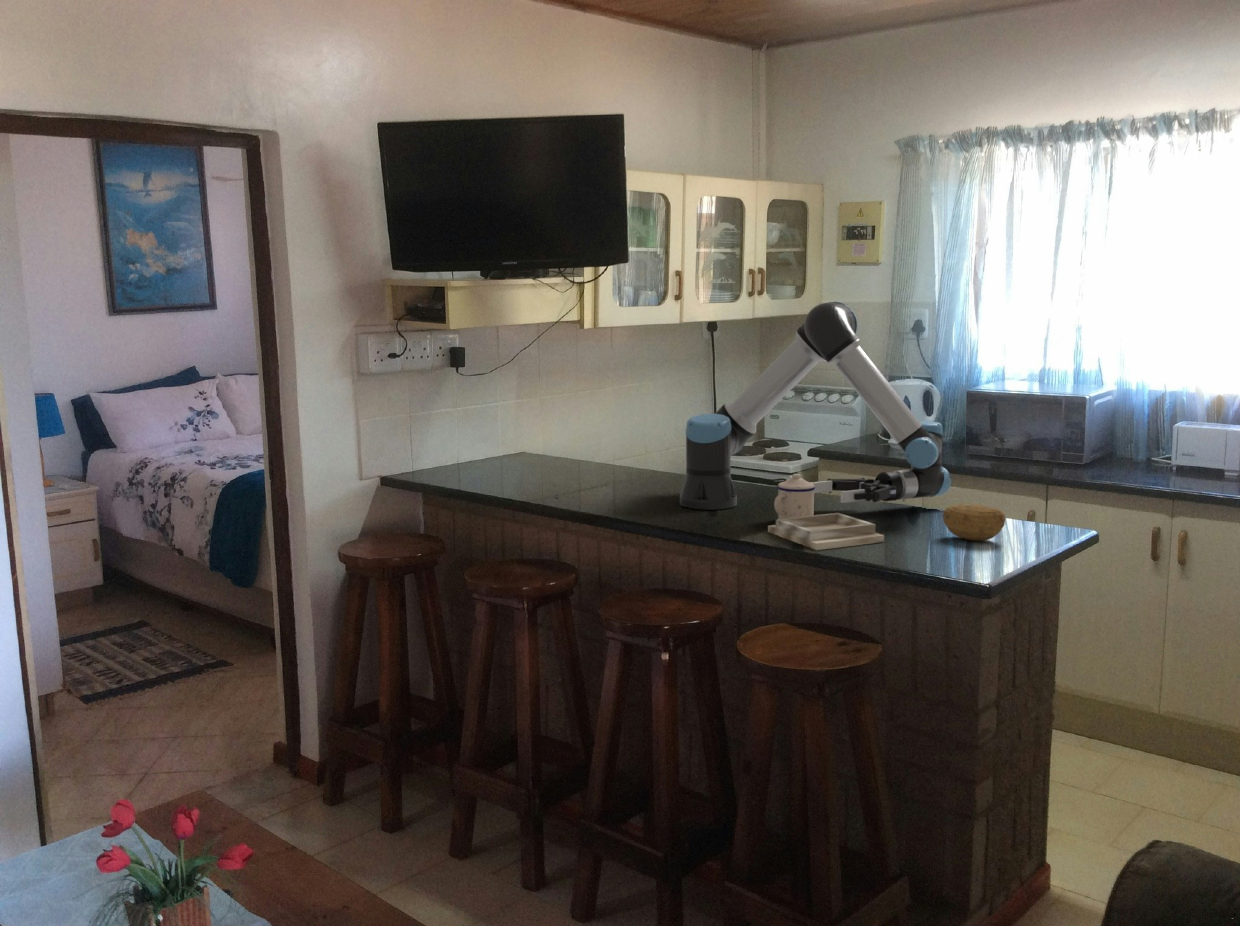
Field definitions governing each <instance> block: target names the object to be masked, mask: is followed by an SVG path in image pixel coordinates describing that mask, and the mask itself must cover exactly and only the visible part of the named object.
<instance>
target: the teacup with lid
mask: <svg viewBox="0 0 1240 926" xmlns="http://www.w3.org/2000/svg"><path fill="white" fill-rule="evenodd" d="M791 476H792V477H790V478H787V480H784V481H782V482H779V483H778V485H777V489H778V493H777V496H776V497H775V499H774V502H773V503H774V504H773V505H774V506H773V507H774V511H775V512H776V514H777V519H785V518H794V517H804V516H813V515H814V513H815V512H814V510H815V508H814V504H815V503H814V502H815V493H814V489H815V486H814V484H812V483H811V481H810V482H809V481H807V480H806V479H805V478H802V477H801V476H802V475H801V474H800V473H793V474H792V475H791Z"/></svg>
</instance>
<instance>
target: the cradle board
mask: <svg viewBox="0 0 1240 926" xmlns="http://www.w3.org/2000/svg"><path fill="white" fill-rule="evenodd" d="M876 526H877V525H876V523H872V522H869V521H866V520H863V519H859V518H856V517H854V516H850V515H847V514H843V513H840V512H834V513H825V514H824V513H823V514H816V515H813V516H804V517H794V518H785V519H778V518H777V519H775V524H772V525H767V533H769V532H770V534H772V533H773V535H775V536H777V535H778V537H779V538H780V537H781V538H783V539H785V538H786V540H788V541H791V542H794V543H795V544H799V545H801V544H802V546H804V547H807V548H809V547H810V548H809V549H812V550H815V551H821V550H828V549H829V550H831V549H837V548H838V549H839V548H845V547H846V548H847V547H853V546H861V545H862V546H863V545H869V544H870V545H871V544H877V543H884V542H885V535H884V534H881V533H878V532H876Z"/></svg>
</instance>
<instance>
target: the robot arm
mask: <svg viewBox="0 0 1240 926" xmlns="http://www.w3.org/2000/svg"><path fill="white" fill-rule="evenodd" d="M857 330H858V320H857V315H856V314H855V312H854V311H853V310H852V308H851V307H849V306H847V304H844V303H843V302H840V301H830V302H823V303H820V304H817V305H815V306H814V307H812V308H811V310H810V311H809V312H808V313H807V315H806V316H805V320H804V322H803V323H802V324H801V325H800V326H799V327H798V328H797V329H796V330H795V340H793V341H792V342H791V344H790V345H788V346H787V348H785V350H783V352H782V353H781V354H780V355H779V356H778V357H777V358H775V360H774V361H773V362H772V363H771V364H770V365H769V366H767V368H765V370H763V372H761V374H760V375H759V376H758V377H757V378H756V379H754V381H753V382H752V383H751V384H750V385H749V386H748V387H747V388H746V389H745V390H744V391H743V392H742V393H741V394H740V395H739V396H738V397H737V398H736V399H735V400H734V401H726V402H724V404H722V406H720V407H719V409H718V410H717V411H716V412H715V413H704V414H699V415H695V416H691V417H690V418H689V419H688V420H687V421H686V422H687V423H686V427H685V439H686V441H685V444H686V445H685V448H686V449H685V450H686V451H685V457H686V458H685V459H686V461H685V462H686V465H685V466H686V467H685V468H686V475H685V479H684V482H683V485H682V489H681V491H680V494H679V506H681V507H683V506H684V507H683V508H686V507H689V508H688V509H692V508H693V510H694V509H695V510H706V511H707V510H708V511H709V510H710V511H711V510H725V509H731V508H734V507H736V506H737V505H738V497H737V492H736V490H735V486H734V482H733V480H732V476H731V464H732V463H731V461H732V460H731V457H732V456H734V455H736V454H738V453H739V452H740V451H741V450H742V449H743V448H744V446H745V445H746V443H747V442H748V441H749V440H750V439H751V438H752V437H753V436H754V435H755V434H756V433H757V424H758V423H759V422H760V421H761V420H763V418H764V417H766V416H767V414H768V413H769V412H770V411H772V409H773V408H774V407H775V406H776V405H778V404H779V402H780V401H782V399H783V398H784V397H785V396H786V395H787V394H788V393H789V392H790V391H791V390H793V388H794V387H795V386H797V385H798V384H799V382H800V381H802V379H803V378H804V377H806V375H808V373H809V372H811V371H812V369H813V368H814V367H816V366H817V365H818V364H819V363H820V362H821V363H822V362H823V363H824V362H827V364H830V365H835V367H836V368H837V369H838V371H839V372H840V373H841V374H842V376H843V377H844V378H845V379H846V381H847V382H848V383H849V384H850V386H851V387H852V388H853V390H854V391H855V392H856V393H857V395H858V396H859V397H860V398H861V399H862V401H863V402H864V403H865V405H866V406H867V407H868V409H869V410H870V411H871V412H872V413H873V415H874V416H875V417H876V419H877V420H878V421H879V422H880V423H881V424H882V426H883V427H884V429H885V430H886V431H887V432H888V433H889V435H890V436H891V437H892V438H893V440H894V442H895V443H896V444H897V445H898V447H899V448H900V449H901V451H902V452H903V453H904V455H905V458H906V461H907V463H908V464H909V465H911V469H900V470H891V471H881V472H879V473H878V474H877V476H875V478H867V479H866V478H863V477H861V478H827V480H823V481H815V482H811V481H810V483H812V484H814V486H815V489H814V494H820V493H821V494H822V493H829V494H831V493H832V492H833V491H837V492H838V491H839V492H840V503H841V504H846V503H857V502H864V501H867V502H871V501H872V502H874V503H877V502H879V501H880V502H881V501H882V502H893V501H902V502H906V501H907V499H909V500H911V499H919V498H933V497H938V496H942V495H945V494H946V493H948V491H949V490H950V488H951V483H952V478H951V477H950V472H949V471H948V469H946V468H945V467H944V466H942V455H943V454H942V453H943V438H944V434H943V432H944V431H943V425H942V423H940V422H937V421H919V420H918V418H917V417H916V416H915V414H914V413H913V412H912V410H911V409H910V408H909V407H908V405H907V404H906V403H905V402H904V400H903V399H902V398H901V397H900V396H899V394H898V392H896V390H895V389H894V388H893V387H892V385H891V384H890V383H889V381H888V379H886V378H885V377H884V375H883V373H882V372H881V371H880V370H879V369H878V367H877V365H875V364H874V362H873V361H872V360H871V359H870V358H869V356H868V355H867V353H865V351H864V349H863V348H862V347H861V345H860V343H861V341H860V340H861V339H860V337H858V335H857V334H856V332H857Z"/></svg>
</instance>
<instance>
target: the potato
mask: <svg viewBox="0 0 1240 926" xmlns="http://www.w3.org/2000/svg"><path fill="white" fill-rule="evenodd" d="M942 513H943V514H942V518H943V523H944V525H945V527H946V528H947V529H948V531H949V532H950V533H951V534H953V535H954V536H956V537H959V538H960V539H963V540H966V541H970V542H971V541H972V542H977V541H980V542H981V541H989V540H990V539H993V538H994V537H996V536H997V535H998V534H999V533H1000V532H1002V530H1003V528H1004V527H1005V524H1006V516H1005V513H1004V512H1003V511H1002V510H1000V509H998V508H996V507H990V506H984V505H981V504H963V503H962V504H953V505H951V506H948V507H947V508H946V509H944V510H943V512H942Z"/></svg>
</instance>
